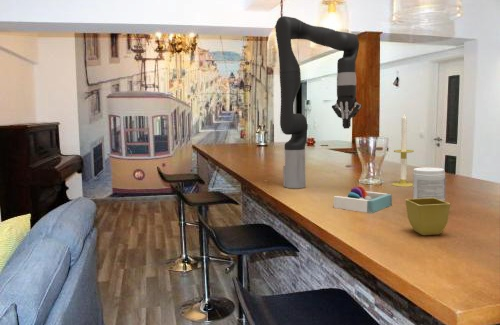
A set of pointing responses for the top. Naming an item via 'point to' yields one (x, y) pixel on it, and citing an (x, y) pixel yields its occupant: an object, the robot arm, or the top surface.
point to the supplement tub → (429, 183)
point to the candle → (403, 155)
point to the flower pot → (427, 215)
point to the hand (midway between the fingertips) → (346, 128)
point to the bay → (364, 202)
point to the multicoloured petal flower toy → (359, 194)
